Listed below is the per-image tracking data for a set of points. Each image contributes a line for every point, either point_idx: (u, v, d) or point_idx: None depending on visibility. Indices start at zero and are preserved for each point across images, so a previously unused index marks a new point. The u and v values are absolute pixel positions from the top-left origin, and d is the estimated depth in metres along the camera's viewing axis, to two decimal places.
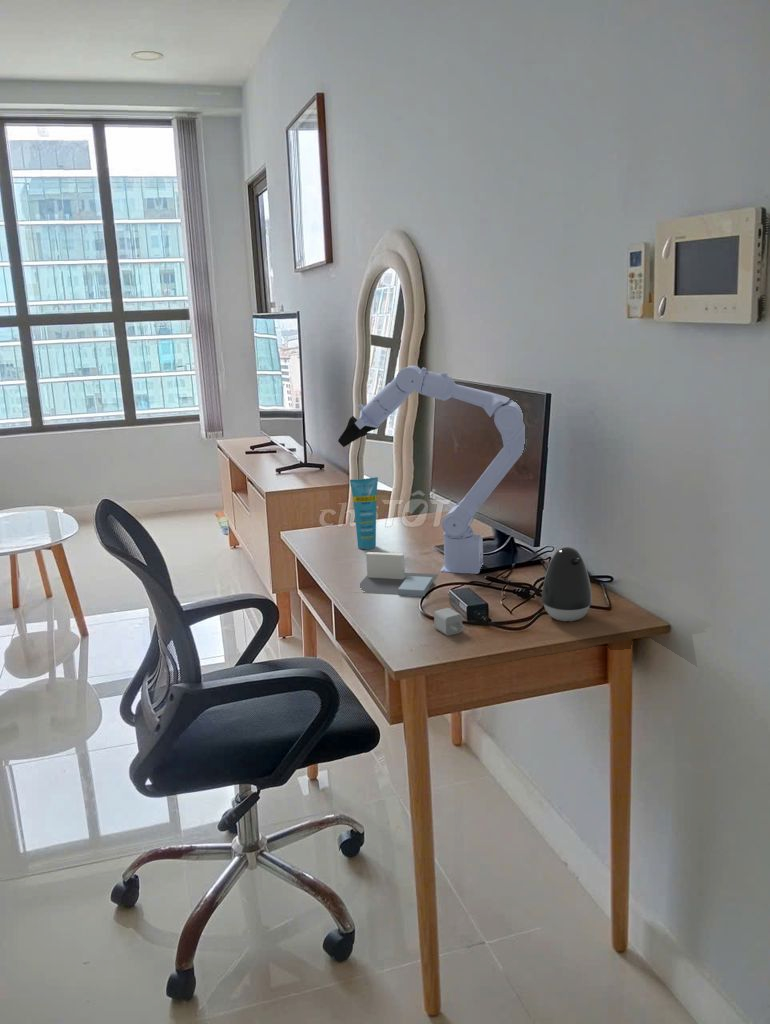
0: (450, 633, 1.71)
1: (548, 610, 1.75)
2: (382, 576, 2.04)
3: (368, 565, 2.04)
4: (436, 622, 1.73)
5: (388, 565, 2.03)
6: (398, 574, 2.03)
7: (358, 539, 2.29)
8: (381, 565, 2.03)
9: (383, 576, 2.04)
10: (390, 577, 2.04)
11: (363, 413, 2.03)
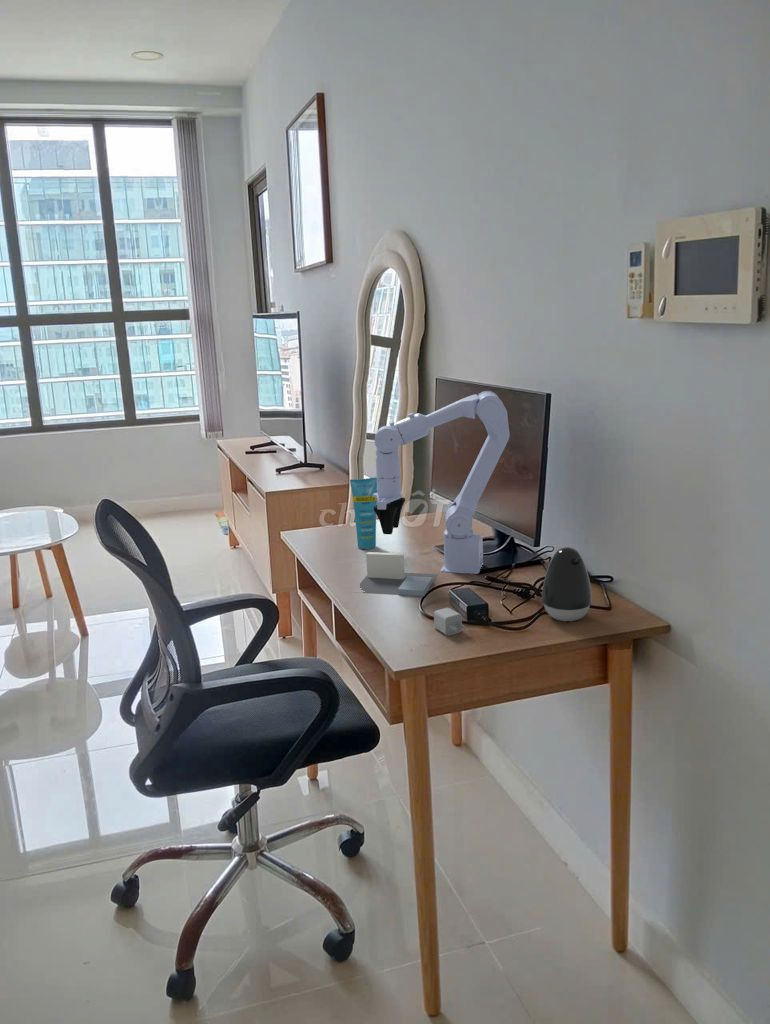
0: (450, 633, 1.71)
1: (548, 610, 1.75)
2: (382, 576, 2.04)
3: (368, 565, 2.04)
4: (435, 622, 1.73)
5: (388, 565, 2.03)
6: (398, 574, 2.03)
7: (358, 539, 2.29)
8: (381, 565, 2.03)
9: (383, 576, 2.04)
10: (390, 577, 2.04)
11: (379, 497, 2.03)
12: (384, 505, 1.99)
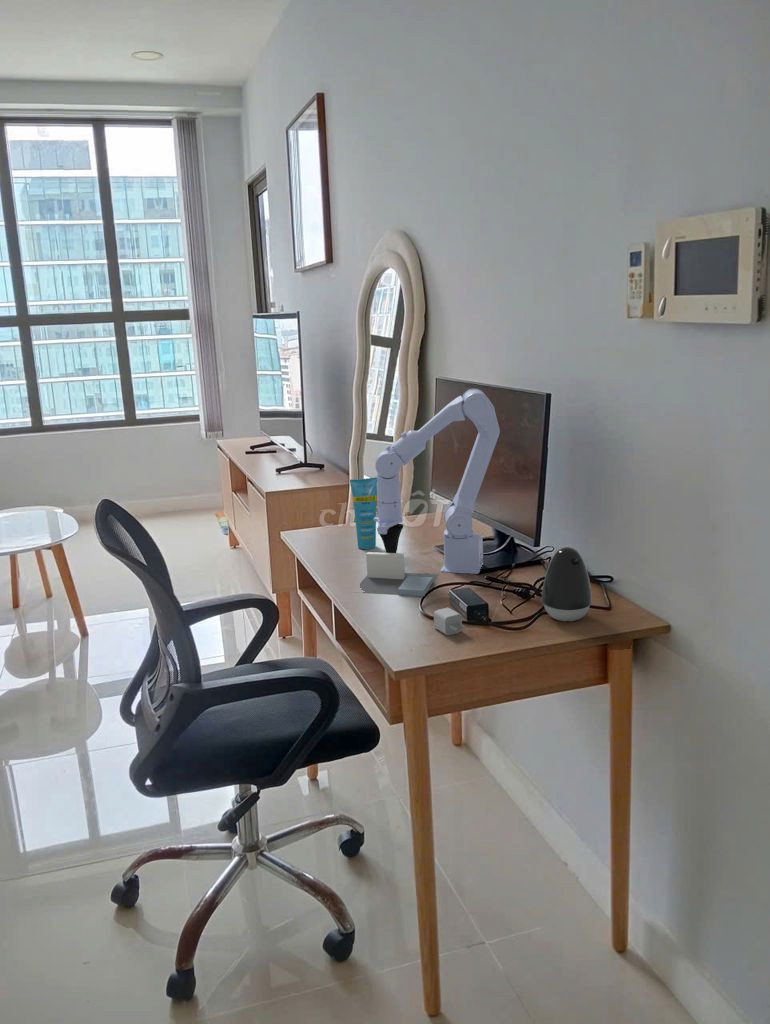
0: (450, 633, 1.71)
1: (548, 610, 1.75)
2: (382, 576, 2.04)
3: (368, 565, 2.04)
4: (435, 622, 1.73)
5: (388, 565, 2.03)
6: (398, 574, 2.03)
7: (358, 539, 2.29)
8: (381, 565, 2.03)
9: (383, 576, 2.04)
10: (390, 577, 2.04)
11: (380, 521, 2.05)
12: (385, 530, 2.00)
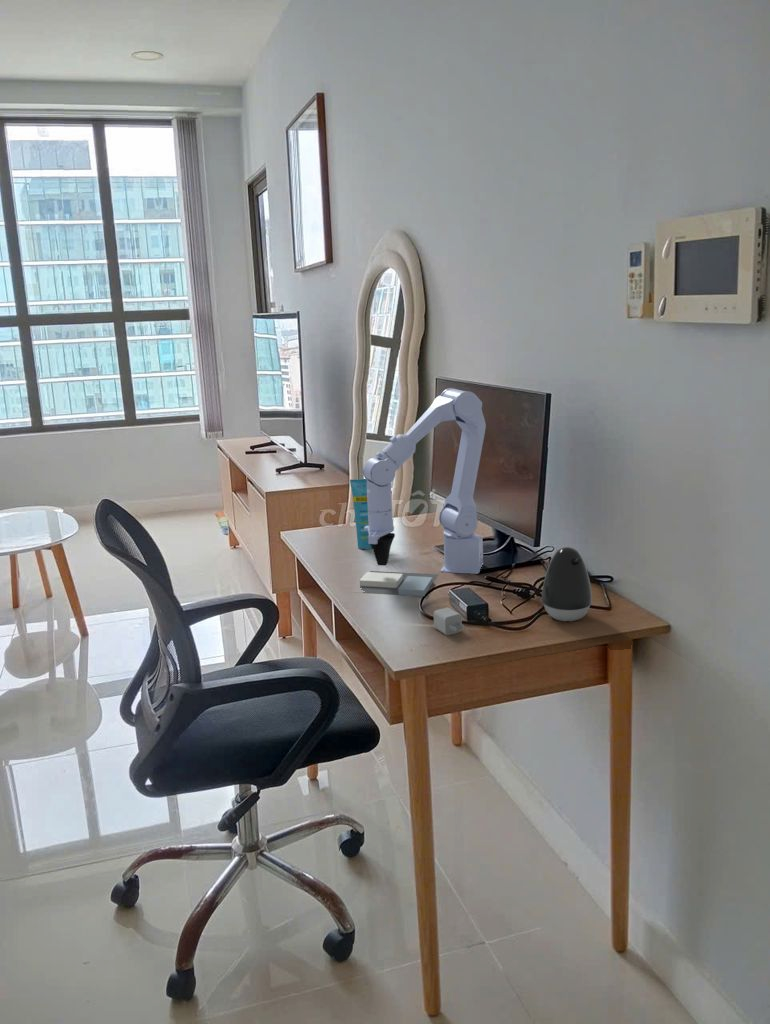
0: (449, 633, 1.71)
1: (548, 610, 1.75)
2: None
3: None
4: (435, 622, 1.73)
5: None
6: None
7: (358, 539, 2.29)
8: None
9: None
10: None
11: (371, 530, 1.97)
12: (375, 540, 1.92)
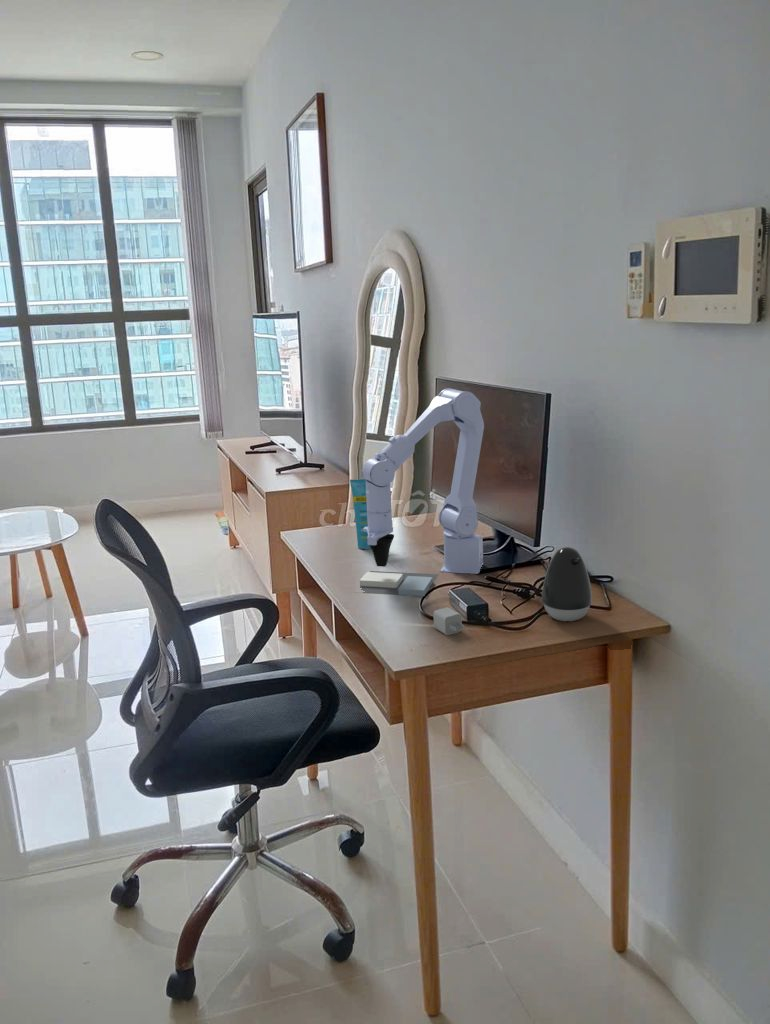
0: (449, 633, 1.71)
1: (548, 610, 1.75)
2: None
3: None
4: (435, 622, 1.73)
5: None
6: None
7: (358, 539, 2.29)
8: None
9: None
10: None
11: (370, 531, 1.97)
12: (374, 541, 1.92)
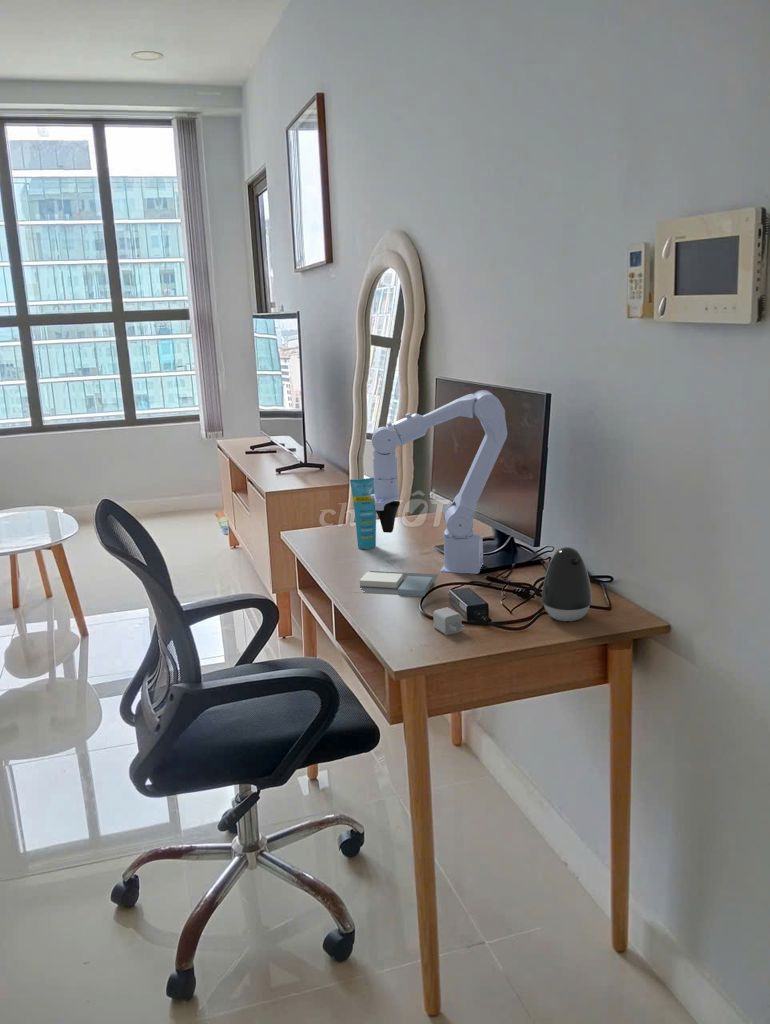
0: (449, 632, 1.71)
1: (548, 610, 1.75)
2: None
3: None
4: (435, 622, 1.73)
5: None
6: None
7: (358, 539, 2.29)
8: None
9: None
10: None
11: (377, 498, 2.02)
12: (382, 506, 1.98)
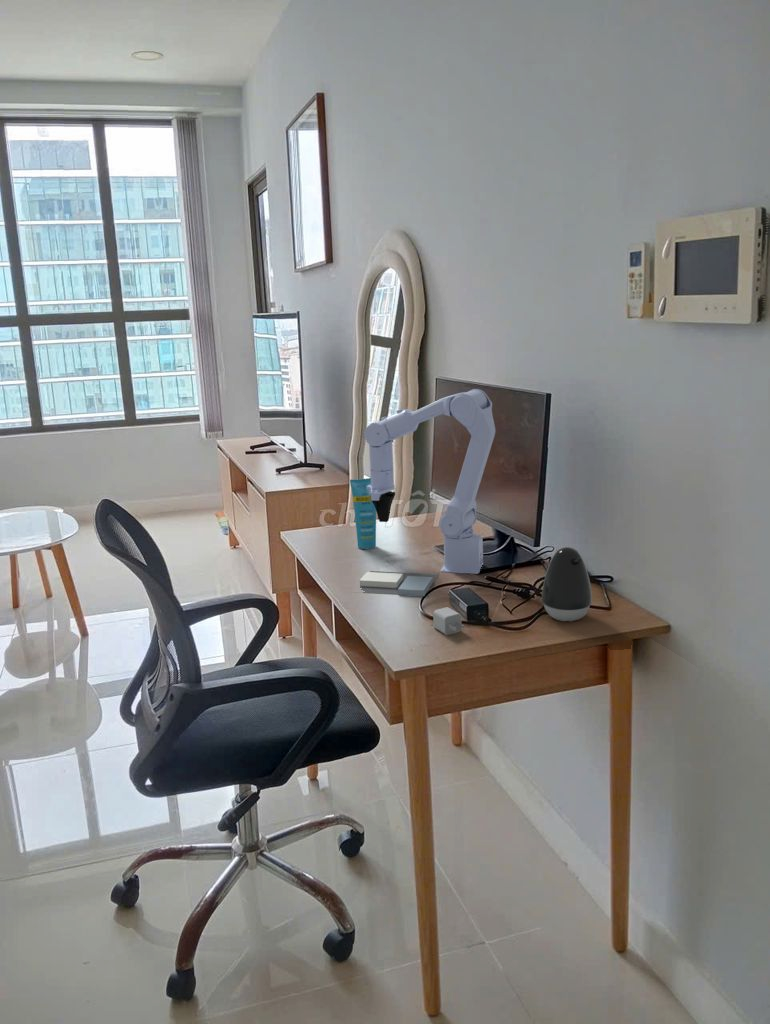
0: (449, 632, 1.71)
1: (548, 610, 1.75)
2: None
3: None
4: (435, 622, 1.73)
5: None
6: None
7: (358, 539, 2.29)
8: None
9: None
10: None
11: (373, 489, 2.12)
12: (377, 496, 2.07)
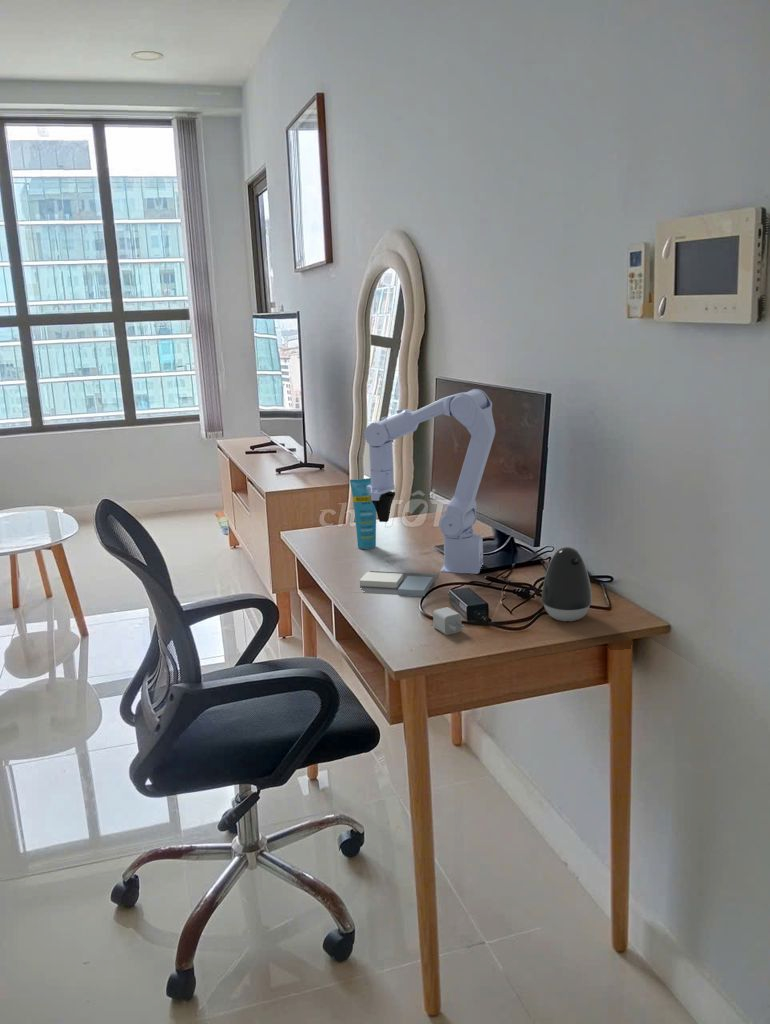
0: (449, 632, 1.71)
1: (548, 610, 1.75)
2: None
3: None
4: (435, 622, 1.73)
5: None
6: None
7: (358, 539, 2.29)
8: None
9: None
10: None
11: (373, 489, 2.12)
12: (377, 496, 2.07)
